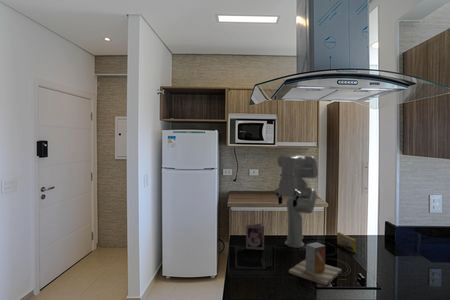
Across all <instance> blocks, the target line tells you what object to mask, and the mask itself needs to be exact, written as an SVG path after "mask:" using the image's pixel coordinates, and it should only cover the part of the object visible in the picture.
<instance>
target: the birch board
mask: <svg viewBox="0 0 450 300" xmlns="http://www.w3.org/2000/svg"><path fill="white" fill-rule="evenodd" d="M305 267H306V258H305V259H303V260H302V261H300V262H299V263H297V264H295V265H294V266H293V267H291V268H290V269H288V273H289V274H292V275H294V276H296V277H300V278H302V279H306V280H309V281H311V282H314V283H318V284H321V285H324V286H326V287H327V286H328V285H329V284H330V283H332V282H333V281H334V280H335V279H336V277H338V276H339V275H340V274H341V273H342V269H341V268H339V267H336V266H332V265H328V264H325V270H323V271H319V272H316V273H313V272H311V271H309V270H307V269H306V268H305Z"/></svg>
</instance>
